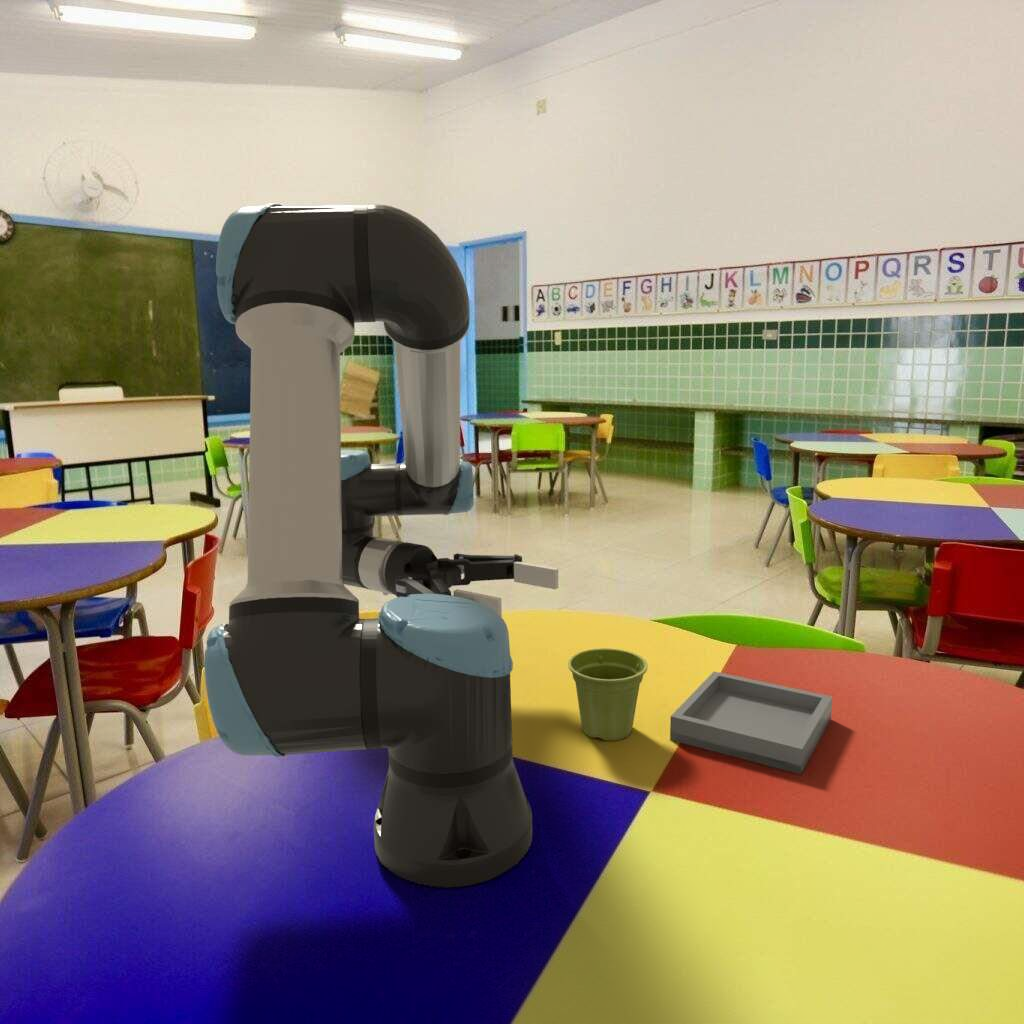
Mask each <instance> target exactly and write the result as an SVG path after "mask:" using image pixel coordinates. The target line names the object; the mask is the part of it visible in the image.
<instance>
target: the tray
mask: <svg viewBox="0 0 1024 1024" xmlns="http://www.w3.org/2000/svg"><path fill="white" fill-rule="evenodd" d="M832 711H833V695H832V696H831V695H826V694H822V693H818V692H817V693H816V692H813V691H807V690H802V689H799V688H794V687H793V688H792V687H789V686H785V685H780V684H779V685H778V684H774V683H769V682H765V681H760V680H755V679H751V678H746V677H742V676H738V675H734V674H733V675H732V674H728V673H723V672H718V671H713V672H712V673H711V674H710V675H709V676H708V677H707V678H706V679H705V680H704V681H703V682H702V683H701V684H700V685H699V686H698V687H697V688H696V689H695V691H694V692H692V693H691V695H689V697H687V699H685V701H684V702H683V703H682V704H681V705H680V706H679V707H678V708H677V709H676V710H675V711H674V712H673V713H672V714H671V715H670V727H669V728H670V729H669V735H670V736H669V740H670V741H674V742H678V743H681V744H684V745H689V746H692V747H696V748H700V749H704V750H708V751H711V752H715V753H719V754H722V755H726V756H729V757H734V758H737V759H741V760H744V761H749V762H753V763H756V764H761V765H764V766H766V767H771V768H775V769H778V770H782V771H783V770H784V771H787V772H791V773H794V774H797V775H802V773H803V772H804V769H805V767H806V765H807V764H808V763H809V760H810V759H811V757H812V754H813V753H814V751H815V749H816V748H817V745H818V744H819V742H820V740H821V738H822V736H823V735H824V733H825V732H826V729H827V727H828V726H829V724H830V723H831V720H832Z"/></svg>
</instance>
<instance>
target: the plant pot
mask: <svg viewBox="0 0 1024 1024" xmlns="http://www.w3.org/2000/svg"><path fill="white" fill-rule="evenodd" d="M567 666H568V669H569V671H570V672H571V673H572V674H571V675H572V678H573V680H574V683H575V688H576V696H577V702H578V710H579V716H580V718H579V719H580V724H581V730H582V732H583V733H584V734H585V735H586V736H588V737H590V738H599V739H602V740H604V741H608V742H609V741H610V742H611V741H618V740H622V739H625V738H627V737H628V736H629V735H630V733H631V732H632V731H633V726H634V721H635V713H636V708H637V703H638V702H637V701H638V697H639V690H640V685H641V683H642V682H643V679H644V678H643V677H644V675H645V674H646V672H647V670H648V666H649V665H648V662H647V660H646V659H645V658H644V657H643V656H641V655H639V654H637V653H636V652H635V653H634V652H633V651H629V650H625V649H620V648H609V647H608V648H606V647H605V648H603V647H600V648H592V649H586V650H583V651H579V652H577V653H575V654H573V655H572V656H570V658H569V659H568V664H567Z"/></svg>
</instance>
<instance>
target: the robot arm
mask: <svg viewBox="0 0 1024 1024" xmlns="http://www.w3.org/2000/svg"><path fill="white" fill-rule="evenodd" d="M215 259H216V260H215V261H216V262H215V263H216V264H215V275H216V277H217V284H216V291H217V292H216V293H217V299H218V304H219V307H220V310H221V311H220V312H221V313H222V314H223V317H224V319H225V320H226V321H227V322H229V324H233V325H234V326H235V333H236V335H237V337H238V338H239V340H240V341H242V342H243V343H244V344H245V345H246V346H248V348H249V349H250V397H249V398H250V399H249V401H250V403H249V404H250V405H249V407H250V409H249V459H248V460H249V465H248V466H249V468H248V470H249V471H248V519H247V520H248V523H247V524H248V525H247V526H248V527H247V529H248V530H247V535H248V536H247V579H246V581H247V583H246V585H245V587H244V588H243V590H242V591H240V592H239V593H238V594H237V595H236V596H235V597H234V598H233V599H232V600H231V601H230V602H229V605H228V606H229V607H228V623H221V624H220V625H218V626H216V627H214V628H213V629H211V630H210V631H209V633H208V636H207V639H206V649H205V652H204V681H205V690H206V696H207V702H208V706H209V711H210V715H211V719H212V721H213V724H214V728H215V730H216V733H217V735H218V737H219V738H220V740H221V742H222V743H223V744H224V746H225V747H226V748H227V749H228V750H229V751H231V752H233V754H236V755H238V756H239V755H240V756H246V757H247V756H249V757H250V756H274V757H276V758H282V757H285V756H287V755H302V754H315V753H317V754H318V753H329V752H330V753H332V752H344V751H345V752H346V751H357V750H359V751H360V750H370V749H371V750H372V749H385V748H386V749H387V751H388V752H387V753H388V770H387V774H386V777H385V780H384V783H383V784H384V785H383V788H382V791H381V794H380V798H379V801H378V804H377V805H378V806H377V809H376V812H375V815H374V819H373V820H374V821H373V839H374V841H373V842H374V850H375V854H376V857H377V856H378V857H377V859H378V858H379V859H378V860H379V862H380V863H381V865H382V866H383V865H384V866H385V867H386V868H388V869H389V870H390V871H392V872H393V873H394V874H395V875H394V874H393V873H392V874H393V875H394V876H396V875H397V876H396V877H398V876H399V877H398V878H400V877H401V878H400V879H402V878H404V879H406V880H405V881H407V880H409V881H411V882H410V883H412V881H413V882H416V883H418V884H417V885H420V884H424V885H423V886H425V885H431V886H430V887H432V886H437V887H436V888H458V887H465V886H466V887H467V886H472V885H477V884H480V883H484V882H487V881H490V880H493V879H495V878H497V877H499V876H501V875H503V874H504V873H503V872H505V871H507V870H508V869H510V868H511V867H512V866H514V865H515V864H516V865H518V864H519V863H518V862H519V861H520V860H521V858H522V857H523V858H524V857H525V856H526V855H525V854H527V853H528V851H529V850H528V849H530V848H529V847H531V846H532V845H531V844H532V841H533V814H532V809H531V805H530V803H529V801H528V798H527V796H526V795H525V792H524V789H523V786H522V781H521V780H520V777H519V774H518V771H517V768H516V766H515V762H514V758H513V755H514V753H513V722H512V698H511V697H512V694H511V693H512V689H511V672H512V671H513V669H514V668H513V667H514V663H513V658H512V657H511V648H510V647H511V646H510V635H509V628H508V626H507V624H506V621H505V619H504V618H503V617H502V598H501V597H498V596H491V595H488V594H483V593H477V592H474V591H473V592H472V591H468V590H463V589H458V588H457V589H455V590H453V595H452V591H451V590H450V589H451V588H452V587H458V586H468V585H470V584H471V583H472V582H481V581H482V582H483V581H484V582H486V581H500V580H501V581H502V580H503V581H504V580H513V581H514V583H518V584H525V585H529V586H535V587H541V588H546V589H552V590H557V589H559V568H557V567H553V566H552V567H551V566H547V565H540V564H536V563H535V564H534V563H527V562H523V556H521V555H519V554H516V553H515V554H514V555H494V554H493V555H490V554H489V555H488V554H485V555H483V554H481V555H478V554H477V555H476V554H475V555H474V554H464V553H458V552H457V553H454V554H453V559H451V558H449V557H439V558H438V557H437V556H436V555H435V553H434V552H433V550H432V548H430V547H429V546H427V545H424V544H418V543H414V542H412V543H411V542H406V541H403V540H396V539H391V538H383V537H376V536H374V518H375V517H396V516H398V517H399V516H426V515H427V516H429V515H430V516H432V515H436V516H437V515H443V516H447V515H450V514H459V513H460V514H461V513H468V512H469V511H471V510H472V509H473V507H474V500H475V499H474V498H475V497H474V494H475V493H474V492H475V491H474V489H475V488H474V473H473V472H474V471H473V466H472V463H470V462H469V461H461V341H462V340H463V339H464V338H465V336H466V335H467V333H468V331H469V329H470V328H469V327H470V297H469V293H468V289H467V286H466V285H467V284H466V282H465V279H464V276H463V274H462V271H461V269H460V267H459V264H458V263H457V261H456V259H455V257H454V256H453V255H452V253H451V251H450V250H449V248H448V247H447V246H446V245H445V244H444V242H443V241H442V239H441V238H440V237H439V236H438V234H436V233H435V231H433V229H431V228H430V227H429V226H428V225H426V224H425V223H424V222H423V221H421V220H420V219H419V218H418V217H416V216H414V215H412V214H410V213H409V212H407V211H404V210H402V209H401V208H397V207H394V206H392V205H391V206H390V205H386V204H376V203H373V204H368V205H365V204H364V205H361V204H360V205H357V204H356V205H315V206H314V205H313V206H312V205H310V206H309V205H307V206H306V205H305V206H304V205H303V206H298V205H297V206H284V205H282V204H280V203H268V204H266V205H259V206H258V205H256V206H243V207H240V208H238V209H237V210H235V211H233V212H232V213H231V214H229V216H228V217H227V219H226V220H225V221H224V223H223V225H222V228H221V231H220V235H219V238H218V244H217V250H216V257H215ZM376 322H383V326H384V330H385V333H386V336H388V337H389V339H391V340H392V341H393V342H394V350H395V351H394V352H395V361H396V371H397V385H398V396H399V397H398V398H399V408H400V419H401V431H402V442H403V451H404V452H403V453H404V462H402V463H372V461H371V459H370V454H369V453H368V452H367V451H365V450H361V449H355V450H354V449H342V440H341V439H342V435H341V434H342V429H341V428H342V427H341V370H340V369H341V355H340V354H341V353H342V352H343V351H345V350H347V348H348V347H350V346H351V345H352V344H353V342H354V340H355V329H356V328H355V324H357V323H376ZM462 575H463V578H462ZM346 586H351V587H356V588H362V589H366V590H370V591H375V592H378V593H379V592H380V593H382V595H384V596H389V594H390V595H394V596H396V597H394V598H391V599H390V600H388V601H386V602H385V603H384V604H383V605H382V607H381V608H380V611H379V613H378V617H376V618H360V601H359V599H358V598H357V596H356V595H354V594H353V593H352V591H350V590H349V589H348V588H347V587H346ZM526 852H527V853H526ZM524 855H525V856H524ZM523 858H522V859H523ZM521 861H522V860H521ZM516 865H515V866H516ZM384 866H383V867H384ZM515 866H514V867H515ZM385 867H384V868H385ZM386 868H385V869H386ZM388 869H387V870H388ZM511 869H512V868H511ZM511 869H510V870H511ZM389 870H388V871H389ZM390 871H389V872H390ZM508 871H509V870H508ZM508 871H507V872H508ZM502 873H503V874H502ZM505 873H506V872H505ZM500 874H501V875H500ZM498 875H499V876H498ZM404 879H403V880H404ZM409 881H408V882H409ZM416 883H415V884H416ZM441 886H443V887H441ZM453 886H454V887H453Z"/></svg>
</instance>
